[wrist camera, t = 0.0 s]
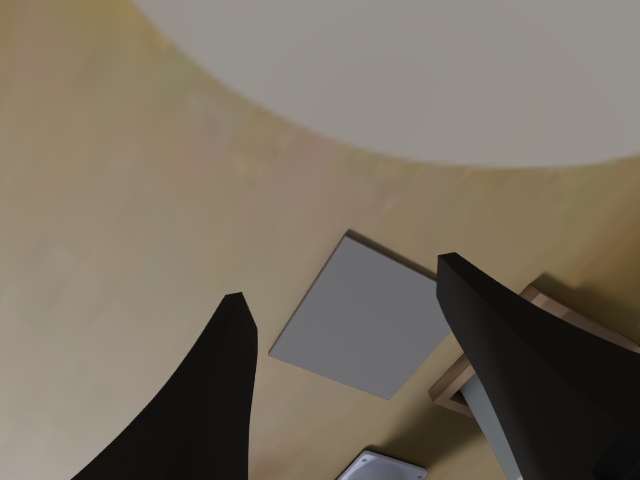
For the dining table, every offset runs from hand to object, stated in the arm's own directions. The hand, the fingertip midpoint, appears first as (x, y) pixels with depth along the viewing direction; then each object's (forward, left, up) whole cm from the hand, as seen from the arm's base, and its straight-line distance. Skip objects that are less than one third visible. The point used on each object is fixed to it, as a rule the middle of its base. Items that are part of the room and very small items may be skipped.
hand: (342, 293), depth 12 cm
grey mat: (-7, -8, -11) cm, 15 cm away
